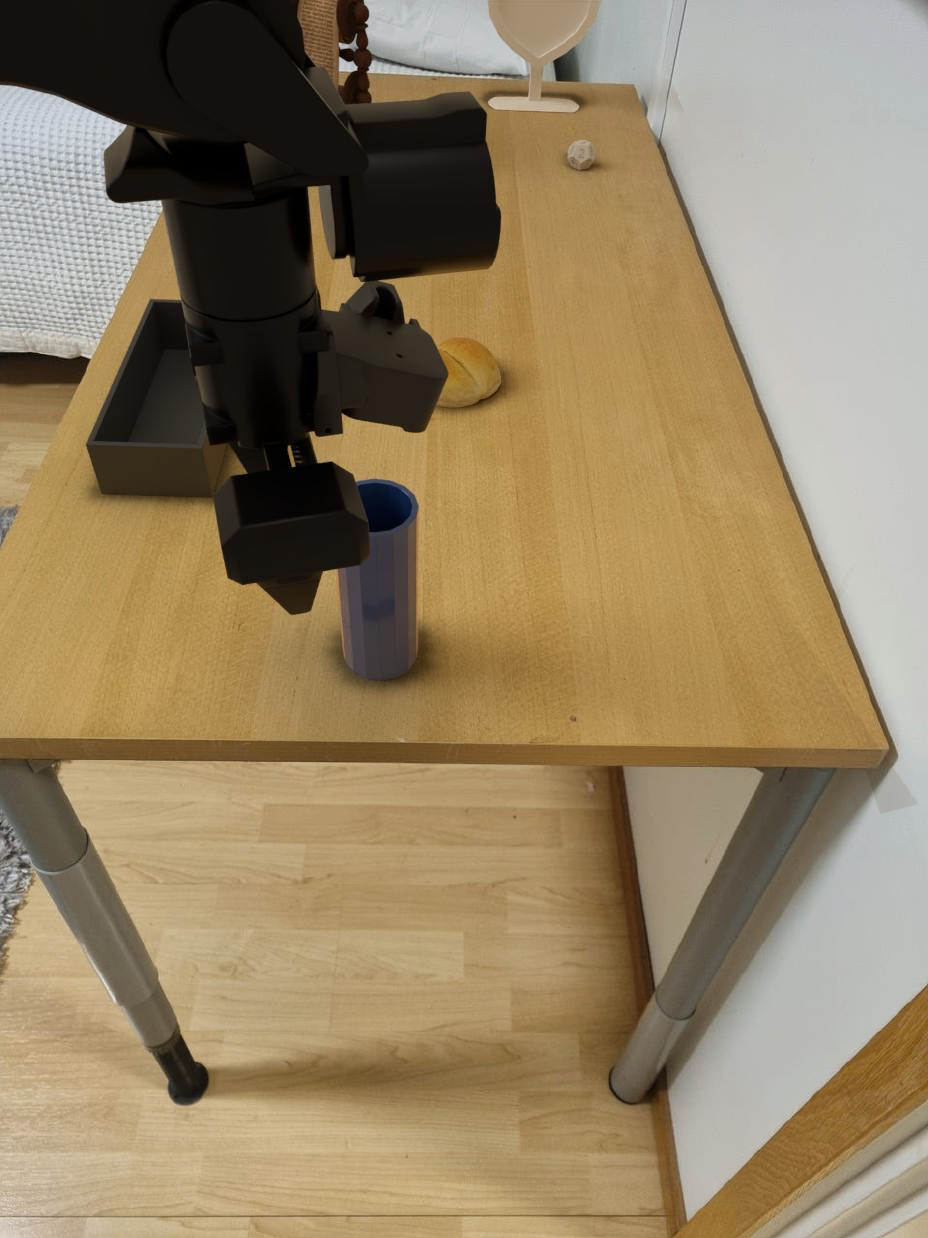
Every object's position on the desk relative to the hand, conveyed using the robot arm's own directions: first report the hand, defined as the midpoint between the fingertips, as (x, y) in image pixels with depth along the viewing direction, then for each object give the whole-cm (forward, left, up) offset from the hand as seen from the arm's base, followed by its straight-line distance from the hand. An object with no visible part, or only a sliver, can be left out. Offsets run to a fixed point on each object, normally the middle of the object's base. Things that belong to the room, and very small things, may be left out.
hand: (286, 551), depth 51 cm
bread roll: (+20, +35, -15) cm, 43 cm away
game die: (+50, +80, -15) cm, 95 cm away
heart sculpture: (+51, +102, -15) cm, 115 cm away
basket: (-5, +35, -15) cm, 39 cm away
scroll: (+19, +89, -15) cm, 92 cm away
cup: (+6, +4, -15) cm, 17 cm away
